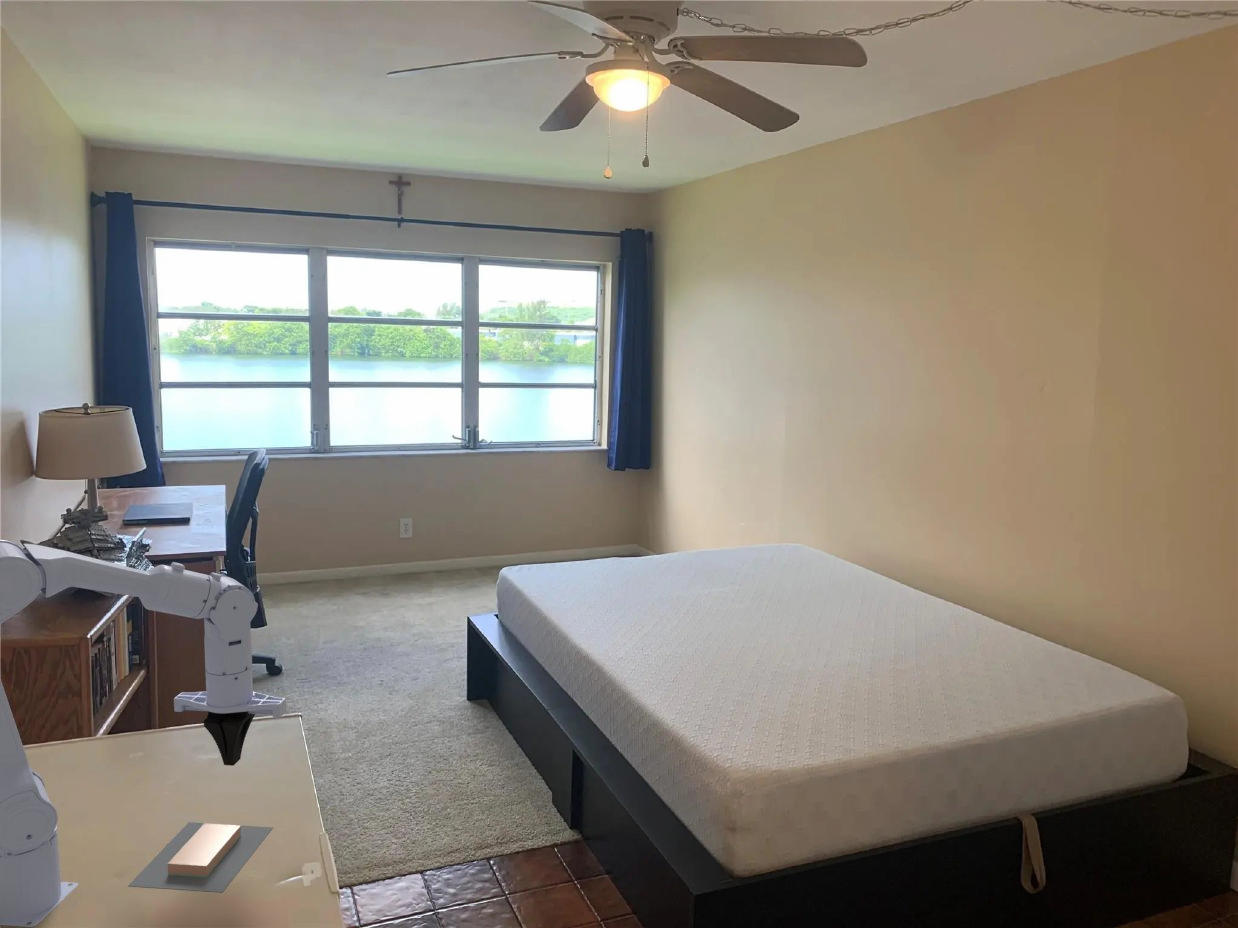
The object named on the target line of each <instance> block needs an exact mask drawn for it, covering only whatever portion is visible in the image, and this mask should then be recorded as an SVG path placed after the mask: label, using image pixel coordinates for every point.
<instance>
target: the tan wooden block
mask: <svg viewBox="0 0 1238 928" xmlns="http://www.w3.org/2000/svg"><path fill="white" fill-rule="evenodd" d="M204 823H205V824H204V825H203V826H202V827H201V828H200V829H199V830H198V831H197V832H196V833H195V834H194V835H193V837H192V838H191V839H190V840H189V841H188V842H187V843H186V844H185V845H184V846H183V847H182V848H181V850H180V851H179V852H178V853H177V854H176V855H175V856H174V857H173V858H172V859H171V860H170V861H169V863H168V875H174V876H189V877H205V878H207V877H208V876H209V874H210V873H211V872H212V871H213V870H214V868H215V867H216V866H217V865H218V863H219V862H220V861H221V860H222V859H223V857H224V856H225V855H226V854H227V853H228V851H229V850H230V849H231V848H232V847H233V845H234V844H235V843H236V842H237V841H238V839H239V838H240V837H241V826H240V825H241V824H240V825H239V824H226V825H224V824H225V823H223V824H222V823H210V824H208V823H207V822H204Z"/></svg>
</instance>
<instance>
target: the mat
mask: <svg viewBox="0 0 1238 928" xmlns="http://www.w3.org/2000/svg"><path fill="white" fill-rule="evenodd" d="M205 823H206V822H195V821H194V822H193V821H192V822H191V821H189V822H187V824H185V826H183V828H182V829H181V830H180V831H179V832H178V833H176V835H175V836H174V837H173V838H172V839H171V840H170V841H169V843H167V845H165V847H164V848H163V849H162V850H160V852H159V853H158V854H157V855H156V856H155V857H154V858H153V859H152V860H151V861H150V862H149V863H148V864H147V865H146V866H145V867H144V868H143V869H142V871H140V873H138V874H137V875H136V877H134V879H133V880H131V882H130V883H129V884H128V885H127V886H128V887H134V888H136V887H138V888H149V889H165V890H180V891H195V892H196V891H197V892H209V893H211V892H213V893H224V892H225V890H226V889H227V888H228V887H229V885H230V884H231V883H232V881H233V880H234V879H235V878H236V876H237V875H238V874H239V872H240V871H241V870H242V868H243V867H244V866H245V865H246V863H247V862H248V861H249V859H250V858H252V855H253V854H254V853H255V852H256V850H257V849H258V848H259V847H260V846H261V844H262V842H263V841H265V839H266V838H267V836H268V835H269V834H270V832H271V831H272V829H274V827H271V826H256V825H241V824H240V826H241V837H240V838H239V839H238V841H237V842H236V843H235V844H234V845H233V847H232V848H231V849H230V850H229V851H228V853H227V854H226V855H225V856H224V857H223V859H222V860H221V861H220V862H219V863H218V865H217V866H216V867H215V868H214V870H213V871H212V872H211V873H210V874H209V876H208V877H207V878H205V877H189V876H174V875H168V863H169V861H170V860H171V859H172V858H173V857H174V856H175V855H176V854H177V853H178V852H179V851H180V850H181V848H182V847H183V846H184V845H185V844H186V843H187V842H188V841H189V840H190V839H191V838H192V837H193V835H194V834H195V833H196V832H197V831H198V830H199V829H200V828H201V827H202V826H203V825H204V824H205ZM208 824H211V823H208ZM223 824H224V825H227V824H225V823H223Z"/></svg>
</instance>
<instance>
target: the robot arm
mask: <svg viewBox="0 0 1238 928" xmlns="http://www.w3.org/2000/svg"><path fill="white" fill-rule="evenodd" d="M22 545H23V546H24V547H25V548H26V550H27V552H26V551H25V550H24V548H22V547H21V546H20V545H19V544H17V543H15V542H13V541H11V540H10V541H9V540H4V539H0V626H1V625H2V624H3V623H4V622H5V621H7V620H8V619H10V618H11V617H13V616H15V615H16V614H17V613H19V612H21V611H22V610H23V609H25V608H26V607H28V606H29V605H30V604H31V603H32V602H34V601H35V599H36V598H37V597H38V595H39V594H40V592H41V593H42V594H43V596H44V597H45V598H50V597H52V596H54V595H56V594H58V593H60V592H62V591H64V590H66V589H68V588H72V587H73V588H80V589H85V590H90V591H91V590H92V591H97V592H104V593H109V594H111V593H112V594H116V595H124V596H130V597H136V598H138V599H139V600H140V603H141V604H142V606H143V607H144V608H145V610H148V611H153V612H159V613H164V614H170V615H175V616H181V617H184V618H192V619H195V620H196V619H197V620H200V619H204V621H203V623H204V625H203V626H204V636H203V637H204V638H203V639H204V641H203V642H204V665H205V666H204V667H205V668H204V670H205V688H206V690H205V691H195V692H193V691H192V692H184V691H183V692H180V693H179V694H178V695H176V696H175V697H174V698H173V707H174V708H173V709H174V712H178V713H181V712H184V711H195V712H196V711H197V712H198V711H199V712H207V716H206V717H205V718H204V720H203V727H204V728H205V729H206V730H207V731H208V733H209V734H210V735H211V737H212V738H213V740H214V742H215V744H216V746H217V749H218V750H219V754H220V756H221V759H222V763H223V766H235V765H236V764H237V763H238V762H239V761H240V760H241V756H242V751H243V747H244V742H245V738H246V737H247V733H248V731H249V728H250V727H251V724H252V722H253V720H254V718H255V716H256V715H264V716H265V715H266V716H267V715H269V716H270V715H271V716H272V717H273V718H279V719H280V718H281V717H282V716H284V714H285V713H287V701H286V700H287V699H286V697H276V696H272V695H269V694H268V695H267V694H264V693H260V692H256V691H254V689H253V686H254V685H253V651H252V645H253V644H252V631H251V622H252V620H253V618H254V617H255V615H256V613H257V612H258V606H259V604H258V602H256V599H255V596H254V595H255V594H254V593H252V591H251V590H250V589H249V588H248V587H246V586H245V585H243V583H240V582H239V581H237V580H236V579H234V578H232V577H229V576H227V575H226V574H223V573H222V574H220V573H216V572H211V573H210V574H205V573H200V572H196V571H191V570H187V569H185V568H186V567H185V565H184V564H182V563H180V562H176V561H175V562H174V561H172V562H171V564H170V565H165V564H159V565H156V566H154V567H153V568H150V569H148V570H141V569H138V568H133V567H130V566H129V567H128V566H127V565H122V564H117V563H114V562H111V561H107V560H103V559H98V558H94V557H90V556H86V555H83V554H79V553H75V552H71V551H67V550H63V549H59V548H55V547H54V548H53V547H49V546H44V545H39V544H36V543H35V544H34V543H23V544H22ZM30 765H31V764H30V762H29V759H28V757H27V754H26V750H25V748H24V745H23V743H22V739H21V737H20V732H19V730H18V727H17V724H16V721H15V719H14V715H13V712H12V710H11V706H10V703H9V700H8V697H7V695H6V691H5V688H4V685H3V683H2V679H1V678H0V926H11V927H26V928H32V927H36V926H37V925H39V923H41V922H42V920H44V919H45V918H46V917H47V916H48V915H49V914H50V913H51V912H52V911H53V910H54V909H55V908H57V906H58V905H60V904H61V902H62V901H64V899H66V898H67V897H68V896H69V895H70V894H71V893H72V892H73V891H74V890H75V889H76V888H77V887H78V886H79V885H80V883H78V882H72V881H71V882H70V881H62V875H61V864H60V850H59V849H60V848H59V834H58V820H59V819H58V818H59V815H58V811H57V809H56V807H55V805H54V804H53V803H52V802H51V799H50V797H49V795H48V793H47V791H46V789H45V783H44V780H43V778H42V777H41V775H40V774H39V773H37V772H36V771H35V770H33V769H32V768H31V766H30ZM28 923H29V924H28Z"/></svg>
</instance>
